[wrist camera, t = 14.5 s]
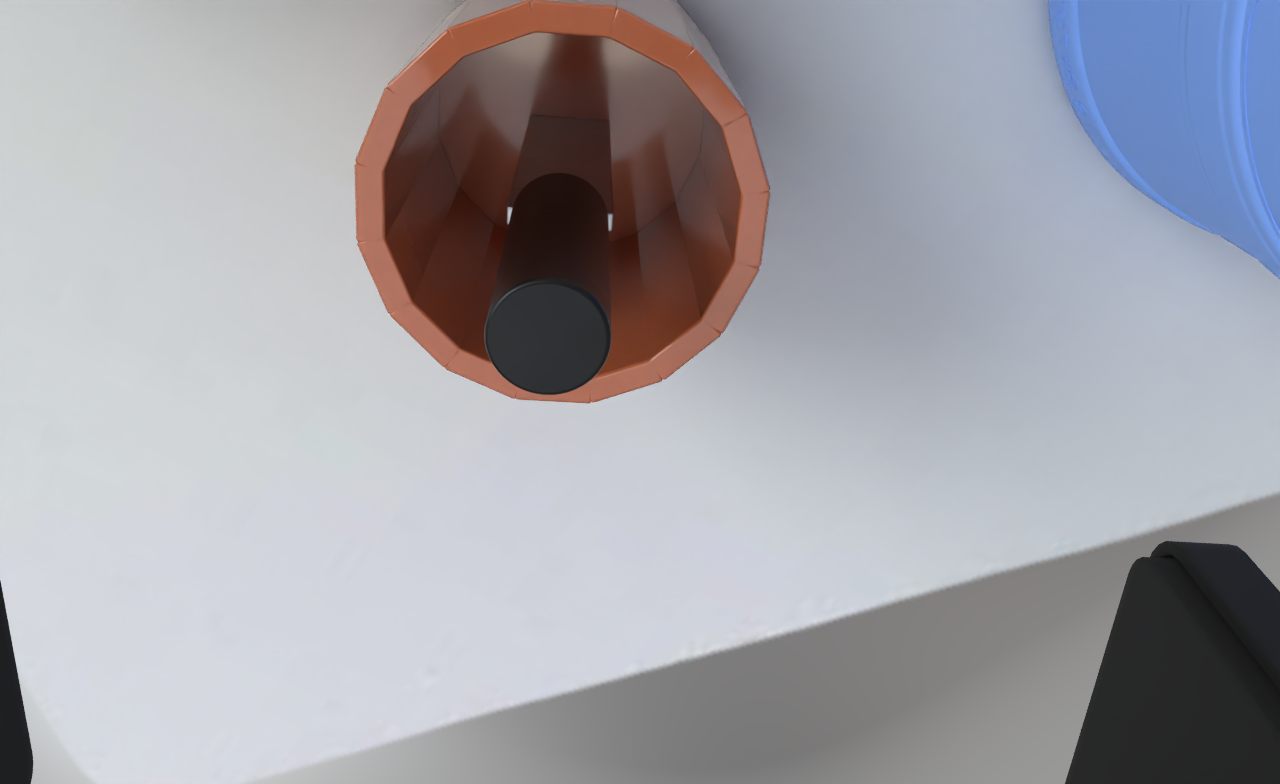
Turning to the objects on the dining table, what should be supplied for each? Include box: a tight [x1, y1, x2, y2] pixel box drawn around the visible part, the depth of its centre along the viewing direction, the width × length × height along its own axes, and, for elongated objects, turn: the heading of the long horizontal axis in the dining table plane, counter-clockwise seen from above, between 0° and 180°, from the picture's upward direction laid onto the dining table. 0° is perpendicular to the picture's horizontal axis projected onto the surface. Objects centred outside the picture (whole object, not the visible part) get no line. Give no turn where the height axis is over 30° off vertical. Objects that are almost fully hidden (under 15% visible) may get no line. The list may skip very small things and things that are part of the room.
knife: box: [484, 115, 614, 395], centre depth 26 cm, size 2×2×16 cm
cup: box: [355, 0, 770, 403], centre depth 29 cm, size 8×8×10 cm
